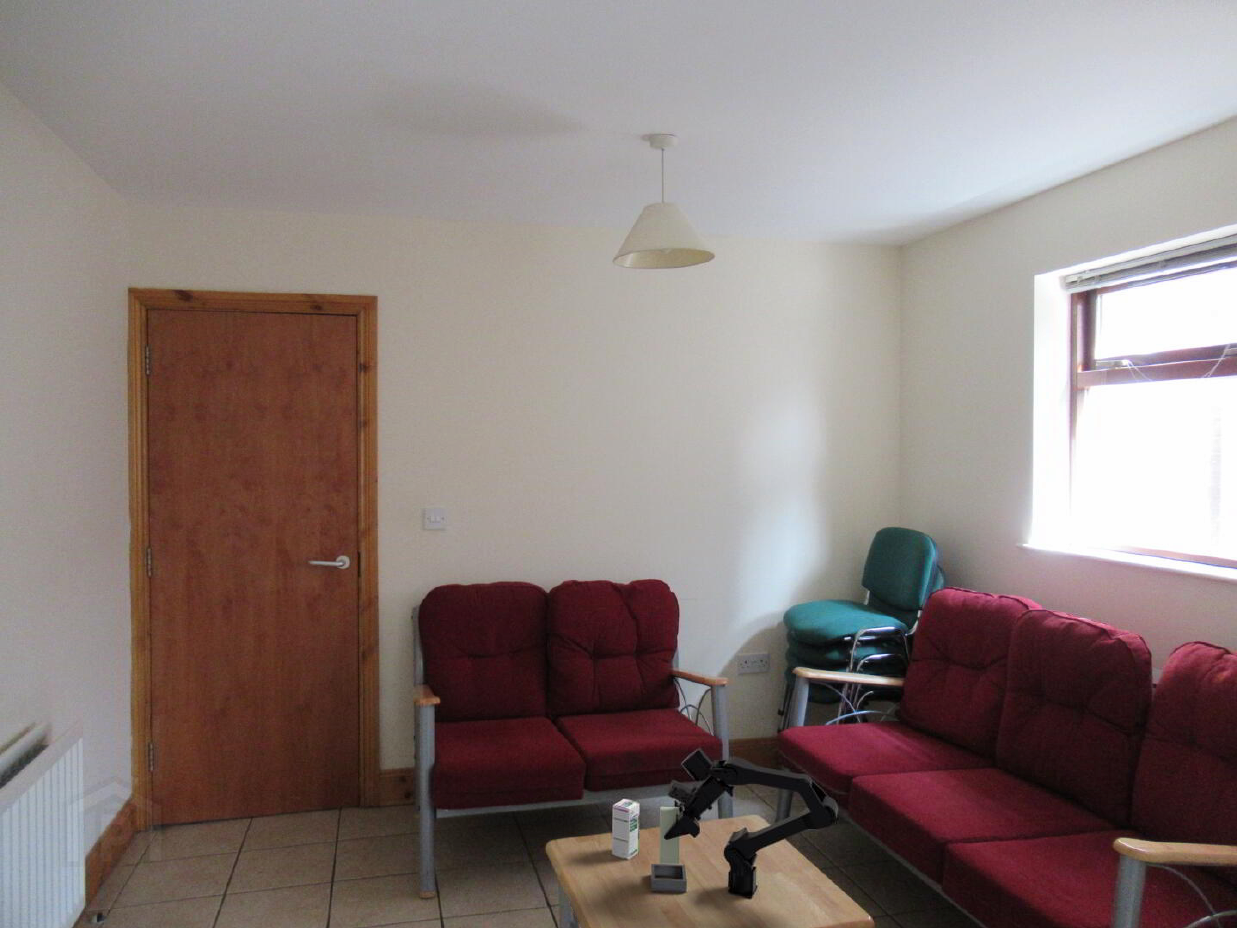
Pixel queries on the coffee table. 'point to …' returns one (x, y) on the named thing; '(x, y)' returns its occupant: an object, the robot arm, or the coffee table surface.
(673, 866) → the square socket
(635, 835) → the syrup box
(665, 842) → the sage block
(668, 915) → the coffee table surface
